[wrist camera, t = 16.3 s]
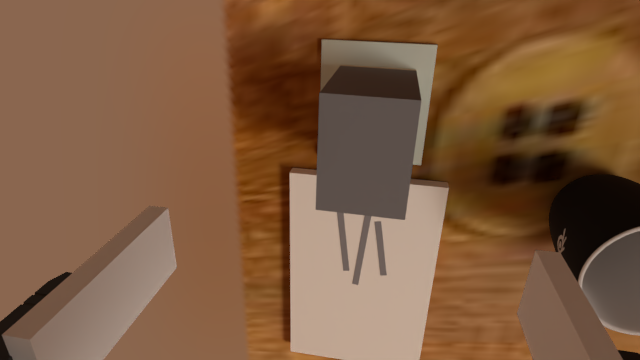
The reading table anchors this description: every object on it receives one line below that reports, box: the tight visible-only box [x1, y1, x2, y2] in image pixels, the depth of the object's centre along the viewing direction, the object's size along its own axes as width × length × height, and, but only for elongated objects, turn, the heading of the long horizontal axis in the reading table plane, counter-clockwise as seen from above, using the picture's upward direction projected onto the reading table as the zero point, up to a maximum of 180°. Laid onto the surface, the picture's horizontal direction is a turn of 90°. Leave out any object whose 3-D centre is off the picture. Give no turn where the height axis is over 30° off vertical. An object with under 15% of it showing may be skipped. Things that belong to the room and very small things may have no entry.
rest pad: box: [320, 39, 437, 165], centre depth 35 cm, size 10×9×1 cm
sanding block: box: [316, 65, 421, 220], centre depth 31 cm, size 8×6×10 cm
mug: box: [549, 175, 640, 335], centre depth 32 cm, size 12×9×10 cm
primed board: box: [290, 168, 449, 360], centre depth 42 cm, size 22×14×1 cm, turn 179°
